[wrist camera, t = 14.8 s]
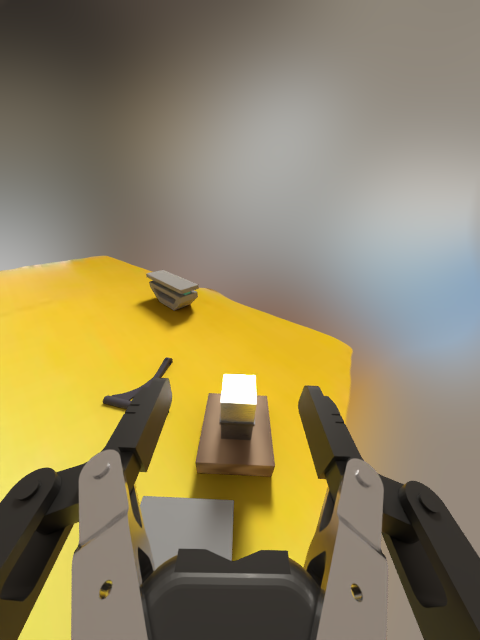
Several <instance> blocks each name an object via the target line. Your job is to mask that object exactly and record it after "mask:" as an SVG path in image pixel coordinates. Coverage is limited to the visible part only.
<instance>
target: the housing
mask: <svg viewBox="0 0 480 640" xmlns="http://www.w3.org/2000/svg"><path fill="white" fill-rule="evenodd" d="M220 405H221V413H220V421H219V425H221V439H236V440H251V437H252V431H253V426H255V411H256V405H257V403H256V384H255V376H251V375H232V374H224V379H223V387H222V394H221V402H220Z"/></svg>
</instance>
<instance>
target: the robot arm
mask: <svg viewBox="0 0 480 640" xmlns="http://www.w3.org/2000/svg"><path fill="white" fill-rule="evenodd" d="M171 402H172V392H171V387H170V382H169V379H168V378H154V379H153V380H152V382H151V384H150V386H149V387H143V388H142V389H141V390H140V391H139V392H138V393H137V394H135V396H134V398H133V399H132V401H131V403H130V406H128V408H127V410H126V412H125V414H124V415H123V417H122V419H121V420H120V422H119V424H118V426H117V427H116V429H115V431H114V432H113V434H112V436H111V438H110V439H109V441H108V443H107V445H106V446H105V448H104V449H103V450H102V451H101V452H100V453H98V454H96V455H95V456H94V457H92V458H91V459H90V460H89V461H88V462H86V463H84V464H82V465H79V466H76V467H72V468H69V469H66V470H63V471H59V472H55V471H54V470H53V469H51V468H41V469H38V470H35V471H33V472H31V473H30V474H28V475H26V476H25V477H24V478H22V479H21V480H20V481H19V482H18V483H17V484H16V485H15V486H14V487H13V488H12V489H11V490H10V491H9V492H8V494H7V495H6V496H5V498H4V499H3V500H2V501H1V503H0V640H17V639H18V637H19V635H20V633H21V631H22V629H23V627H24V625H25V623H26V621H27V619H28V617H29V615H30V613H31V611H32V609H33V607H34V604H35V602H36V600H37V598H38V596H39V594H40V592H41V590H42V588H43V586H44V584H45V582H46V580H47V578H48V576H49V574H50V572H51V570H52V568H53V566H54V564H55V562H56V560H57V558H58V555H59V553H60V551H61V549H62V547H63V545H64V543H65V541H66V539H67V537H68V535H69V533H70V531H71V529H72V527H73V525H74V523H77V522H79V545H78V547H77V549H76V550H75V552H74V555H73V561H72V616H71V640H386V639H387V603H388V565H387V560H386V557H385V556H384V554H383V553H382V550H381V533H382V535H383V538H384V540H385V543H386V545H387V548H388V550H389V553H390V555H391V558H392V560H393V563H394V565H395V568H396V570H397V573H398V575H399V578H400V580H401V583H402V585H403V588H404V590H405V593H406V595H407V598H408V600H409V603H410V605H411V608H412V610H413V613H414V615H415V618H416V620H417V623H418V625H419V628H420V631H421V633H422V635H423V638H424V640H480V558H479V557H478V555H477V553H476V552H475V551H474V549H473V547H472V546H471V544H470V543H469V541H468V540H467V538H466V537H465V535H464V533H463V532H462V531H461V529H460V527H459V526H458V524H457V523H456V521H455V520H454V518H453V517H452V515H451V514H450V512H449V511H448V509H447V507H446V506H445V504H444V503H443V502H442V500H441V499H440V498H439V497H438V496H437V495H436V494H435V493H434V492H433V491H432V490H430V488H428V487H427V486H425V485H424V484H422V483H419V482H417V481H409V482H407V483H406V484H405V485H404V484H401V483H399V482H396V481H394V480H391V479H389V478H386V477H384V476H381V475H380V474H378V473H377V472H376V471H375V470H374V469H373V468H372V467H371V466H370V465H369V464H368V463H366V462H365V461H364V460H363V459H362V457H361V455H360V453H359V451H358V450H357V447H356V445H355V443H354V441H353V439H352V437H351V435H350V433H349V431H348V429H347V427H346V425H345V424H344V421H343V419H342V417H341V416H340V413H339V410H338V408H337V406H336V404H335V403H334V402H333V401H332V400H331V399H330V398H329V397H328V396H323V394H322V391H321V389H320V388H319V387H318V386H304V388H303V391H302V394H301V396H300V399H299V403H298V409H299V414H300V417H301V420H302V424H303V427H304V431H305V434H306V438H307V441H308V445H309V448H310V451H311V455H312V458H313V462H314V465H315V469H316V472H317V476H318V479H326V480H327V483H328V488H327V491H326V495H325V499H324V503H323V506H322V510H321V514H320V518H319V522H318V525H317V529H316V532H315V535H314V537H313V539H312V541H311V544H310V546H309V549H308V553H307V556H306V560H305V564H304V567H302V566H301V565H299V564H298V563H297V562H295V561H294V560H292V559H290V558H288V551H278V550H260V551H258V552H256V553H253V554H251V555H248V556H246V557H244V558H241V559H239V560H237V561H230V560H228V559H226V558H224V557H222V556H220V555H217V554H215V553H213V552H211V551H209V550H207V549H178V555H176V556H174V557H172V558H170V559H168V560H167V561H165V562H164V563H163V564H161V565H160V566H159V567H158V568H157V569H156V570H155V565H154V561H153V556H152V552H151V547H150V543H149V540H148V537H147V534H146V531H145V527H144V523H143V518H142V513H141V509H140V504H139V499H138V495H137V490H136V485H135V481H136V479H137V476H138V474H139V472H147V470H148V467H149V464H150V461H151V458H152V456H153V453H154V450H155V447H156V445H157V442H158V439H159V436H160V434H161V431H162V428H163V425H164V422H165V420H166V417H167V414H168V411H169V409H170V406H171Z"/></svg>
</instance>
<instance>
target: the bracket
mask: <svg viewBox="0 0 480 640" xmlns="http://www.w3.org/2000/svg"><path fill="white" fill-rule="evenodd" d="M171 363H172V358H165V359H164V361H163V363H162V364H161V366H160V368H159V370H158V371H157V373H156V374H155V376H154V377H153V378H152V379H151V380H149V381H148V382H147V383H146V384H144V385H142V386H141V387H139V388H137V389H135V390H132V391H129V392H126V393H123V394H118V395H112V396H106V397H104V399H103V403H104V404H108V405H112V406H116V407H120V408H124V409H127V408H128V406H130V403H131V401H130V400H131V399H132V398H134V396H135V394H137V393H138V392H139V391H140V390H141V389H142V388H143V387H149V386H150V384H151V382H152V380H153V379H154V378H161V377H162V376H163V374H164V373H165V371H166V370H167V369H168V367H169V366H170V365H171ZM168 413H169V411H168Z"/></svg>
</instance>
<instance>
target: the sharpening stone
mask: <svg viewBox="0 0 480 640" xmlns="http://www.w3.org/2000/svg"><path fill="white" fill-rule="evenodd" d="M146 275H147V277H148V278H150V279H152V280H154V281H150V282H149V283H150V287H151V289H152V290H153V292H154V294H155V295H156V297H157V299H158V300H159V302H161V303H162V304H164V305H166V306H167V307H169V308H171V309H172V310H174V311H175V310H177V309H180V308H182V307H185V306H187V305H190V304H191V303H192V302H193V301H194V300H195V299H196V298H197V297H198V296H197V292H196V291H194V290H196V289H199V287H198V284H195V283H193V282H191V281H188V280H186V279H183V278H181V277H178V276H176V275H174V274H171V273H169V272H166V271H164V270H161V271H157V272H152V273H147V274H146Z"/></svg>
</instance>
